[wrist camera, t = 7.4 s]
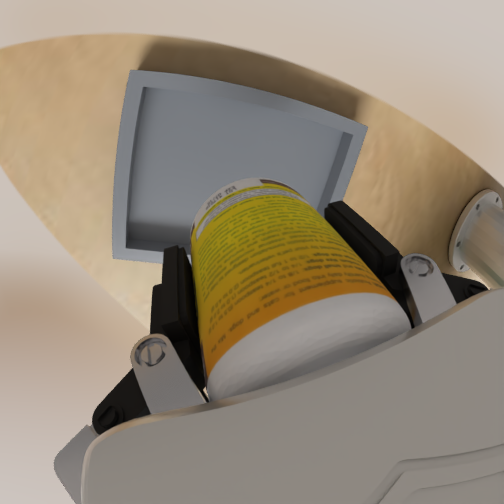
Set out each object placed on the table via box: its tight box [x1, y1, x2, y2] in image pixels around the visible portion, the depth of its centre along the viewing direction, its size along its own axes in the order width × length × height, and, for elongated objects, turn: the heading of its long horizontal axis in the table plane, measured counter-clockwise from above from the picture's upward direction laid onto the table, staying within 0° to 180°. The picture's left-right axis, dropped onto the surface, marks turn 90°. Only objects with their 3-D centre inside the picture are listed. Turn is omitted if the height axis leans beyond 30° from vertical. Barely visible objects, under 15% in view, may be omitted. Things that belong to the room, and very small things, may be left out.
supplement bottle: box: [190, 178, 411, 402], centre depth 9 cm, size 6×6×10 cm
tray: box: [112, 70, 368, 264], centre depth 19 cm, size 16×13×2 cm
